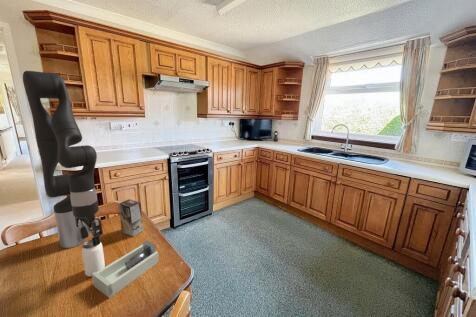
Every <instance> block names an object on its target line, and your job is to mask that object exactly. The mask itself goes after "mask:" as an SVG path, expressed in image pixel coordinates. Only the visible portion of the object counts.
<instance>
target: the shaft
mask: <svg viewBox="0 0 476 317" xmlns="http://www.w3.org/2000/svg"><path fill="white" fill-rule="evenodd" d="M142 245H143V251H141V252H140V253H138V254H137V255H135V256H133V257H132V258H130V259H129V260H127V261H126V262H125V266H126V268H127V270H129V269H131V268H132V267H134V266H135V265H137V264H138V263H140V262H141V261H143V260H144V259H146V258H147V257H149V256H150V255H152V254H153V253H155V252H156V245H155V243H153V242H151V241H149V240H146V241H144V242H142Z"/></svg>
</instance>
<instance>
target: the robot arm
mask: <svg viewBox="0 0 476 317" xmlns="http://www.w3.org/2000/svg"><path fill="white" fill-rule="evenodd" d="M65 82H66V81H64V79H63V77H62V76H61V75H60V74H59V73H53V72H46V71H44V72H43V71H34V70H24V71H23V73H22V83H23V86H24V91H25V94H26V98H27V102H28V105H29V107H30V108H29V109H30V113H31V117H32V122H33V127H34V128H33V129H34V134H35V140H36V144H37V145H36V146H37V148H38V153H39V157H40V161H41V168H42V175H43V184H44V191H45V193H46V196H48V198H58V197H63V196H66V197H65V198H63V199H62V200H59V201H57V202H56V203H55V204H54V205H53V212H54V217H55V223H56V228H57V235H58V239H59V244H60V247H61V249H62V248H63V249H71V248H74V247H78V246H79V245H81V244H82V243H83V244H84V243H85V241H86V238H87V239H88V238H89V234H90V236H91V240H92V243H93V246H97V245H99V244H100V242H101V236H102V235H104V233H103V227H102V220H101V219H100V218H98V219H97V218H96V214H97V213H98V212H99V211H100V209H99V202H98V194H97V193H98V192H97V190H96V186H95V179H94V178H95V168H96V162H97V158H98V157H97V156H98V154H97V151H96V149H95V148H94V147H93V146H92V145H88V144H87V145H86V144H85V145H78V144H79V143H81V142H82V140H83V135H82V131H81V130H80V128H79V126H78V123H77V121H76V119H75V116H74V112H73V108H72V103H71V100H70V96H69V92H68V88H67V86H66V83H65ZM41 99H53V100H54V99H55V100H56V99H57V100H58V103H57V104H58V105H57V107H56V109H55V110H54V112H53V114H52V115H51V114H50V113H49V112H48V111H47V110H46V109H45V107H44V105H43V104H42V100H41ZM75 145H76V146H75ZM58 164H59V165H60V166H61V167H62V168H65V169H72V168H79V167H82V168H81V169H80V170H79V171H77V172H74V173H67V174H58V175H57V174H56V175H54V174H55V170H56V168H57V166H58Z"/></svg>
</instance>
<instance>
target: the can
mask: <svg viewBox="0 0 476 317" xmlns="http://www.w3.org/2000/svg"><path fill="white" fill-rule="evenodd" d="M104 255H105V254H104V247H103V243H102V242H101V241H100V244H99V245H97V246H93V243H92V239H90V240H88V241H86V242H83V244H82V248H81V257H82V263H83V269H84V274H85V276H86V277H89V278H90V277H91V278H92V273H94V272H95V271H96V272H98V271H99V270H101V269H103V268H104V267H106V262H105V256H104Z"/></svg>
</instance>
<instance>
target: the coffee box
mask: <svg viewBox="0 0 476 317" xmlns="http://www.w3.org/2000/svg"><path fill="white" fill-rule="evenodd" d="M141 204H142V203H141V202H140V201H136V200H132V199H126V200H124V201H122V202H119V203H118V210H119V220H120V226H121V233H123V234H126V235H127V236H131V237H135V236H136V235H139V234H140V233H142V232H143V231H144V228H143V227H144V225H143V215H142V205H141Z"/></svg>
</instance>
